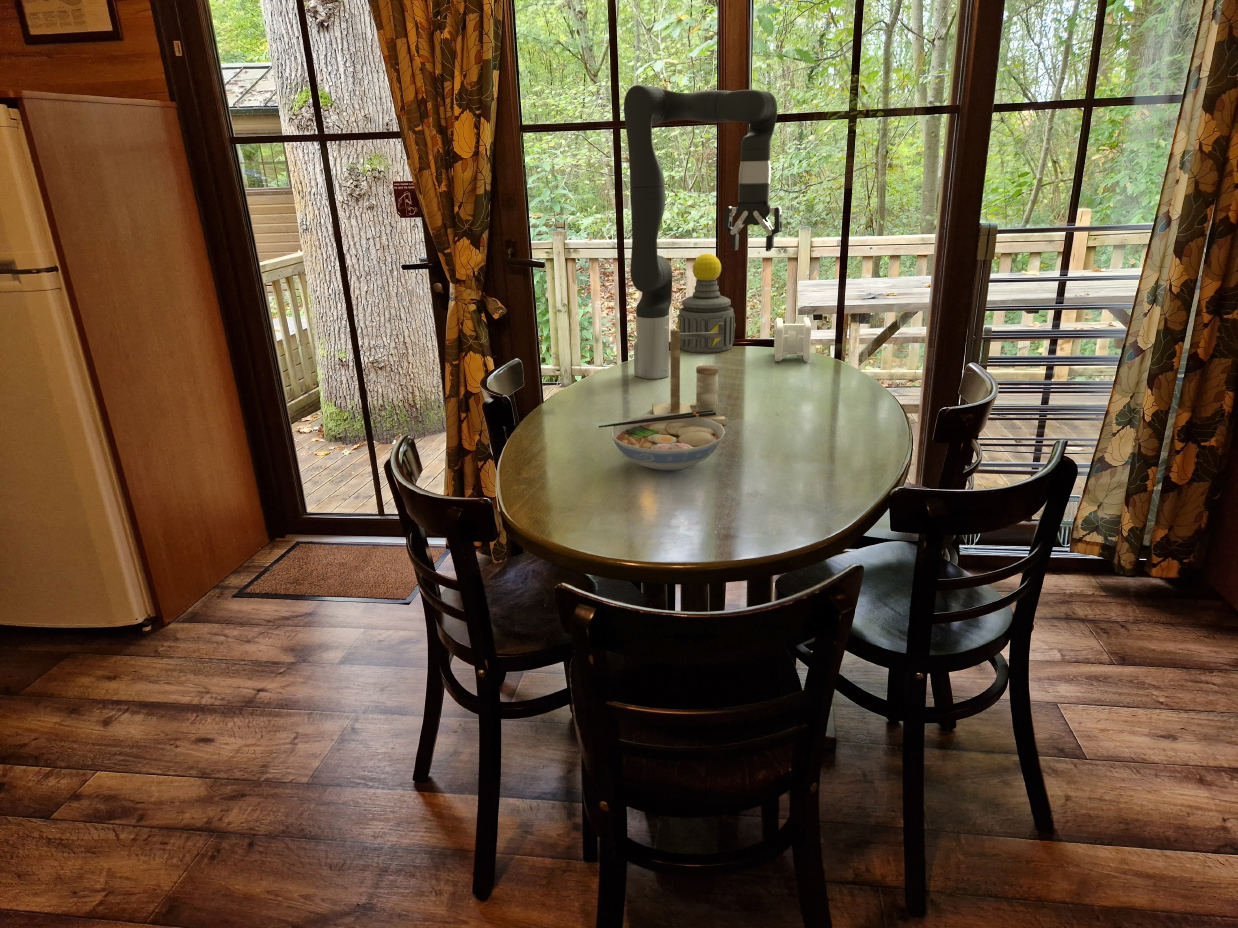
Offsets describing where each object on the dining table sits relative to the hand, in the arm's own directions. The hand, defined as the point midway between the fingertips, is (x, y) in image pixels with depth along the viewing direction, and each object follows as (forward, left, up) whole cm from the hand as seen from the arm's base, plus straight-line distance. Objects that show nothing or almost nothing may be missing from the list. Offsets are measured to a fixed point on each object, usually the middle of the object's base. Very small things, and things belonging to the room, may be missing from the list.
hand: (751, 250), depth 195 cm
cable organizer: (0, +40, -36) cm, 54 cm away
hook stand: (-5, -28, -36) cm, 46 cm away
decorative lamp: (-30, +45, -36) cm, 65 cm away
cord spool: (-1, -26, -36) cm, 44 cm away
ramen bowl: (+4, -59, -36) cm, 69 cm away
